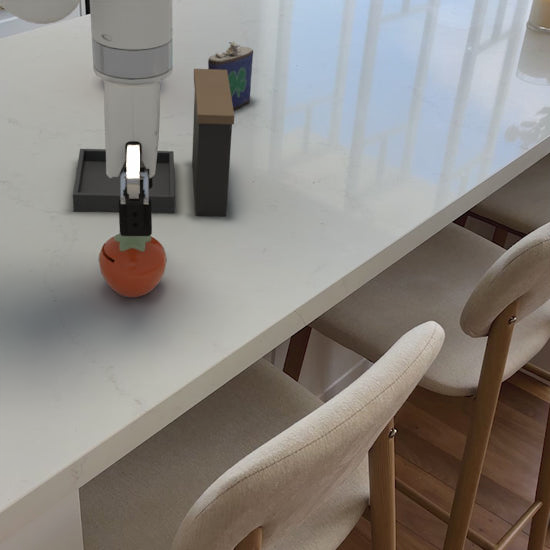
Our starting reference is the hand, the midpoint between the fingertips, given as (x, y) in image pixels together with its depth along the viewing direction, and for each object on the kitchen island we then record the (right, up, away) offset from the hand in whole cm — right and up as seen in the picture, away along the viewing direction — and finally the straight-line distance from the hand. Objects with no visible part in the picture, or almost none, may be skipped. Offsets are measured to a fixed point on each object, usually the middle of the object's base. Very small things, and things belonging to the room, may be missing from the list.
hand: (136, 210), depth 94 cm
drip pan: (-5, +5, +24) cm, 25 cm away
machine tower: (+6, +5, +26) cm, 27 cm away
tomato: (-1, -9, +6) cm, 10 cm away
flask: (+7, +20, +48) cm, 53 cm away
